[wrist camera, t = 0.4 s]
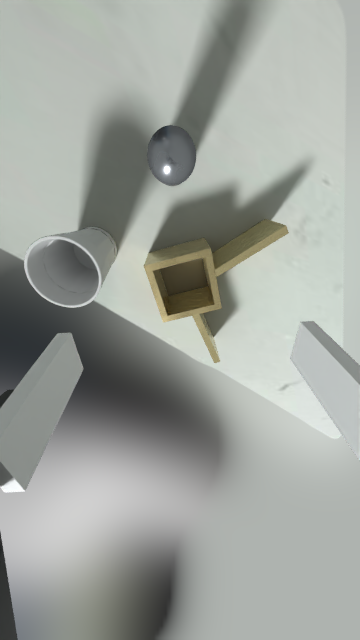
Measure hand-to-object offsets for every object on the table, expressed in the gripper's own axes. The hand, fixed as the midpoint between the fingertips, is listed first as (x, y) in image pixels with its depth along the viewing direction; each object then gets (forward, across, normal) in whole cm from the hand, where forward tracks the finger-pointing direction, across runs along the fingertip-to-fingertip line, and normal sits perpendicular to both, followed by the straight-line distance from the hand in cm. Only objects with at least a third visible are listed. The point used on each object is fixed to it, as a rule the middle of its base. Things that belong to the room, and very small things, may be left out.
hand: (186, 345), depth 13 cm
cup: (+25, -12, 0) cm, 28 cm away
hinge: (+25, +7, -8) cm, 27 cm away
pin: (+25, 0, +10) cm, 27 cm away
